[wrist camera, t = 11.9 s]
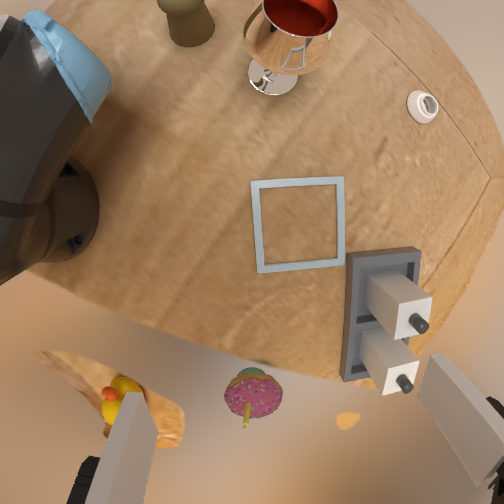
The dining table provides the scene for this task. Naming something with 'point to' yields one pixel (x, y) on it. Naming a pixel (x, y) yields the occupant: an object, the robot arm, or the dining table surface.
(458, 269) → the dining table surface
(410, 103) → the white short tapered ring
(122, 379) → the duckling
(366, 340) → the white plug
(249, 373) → the cupcake
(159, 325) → the dining table surface
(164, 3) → the cork
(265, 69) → the wineglass
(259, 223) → the square frame
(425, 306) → the white block with peg
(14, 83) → the robot arm
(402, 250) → the two-slot grey rack
